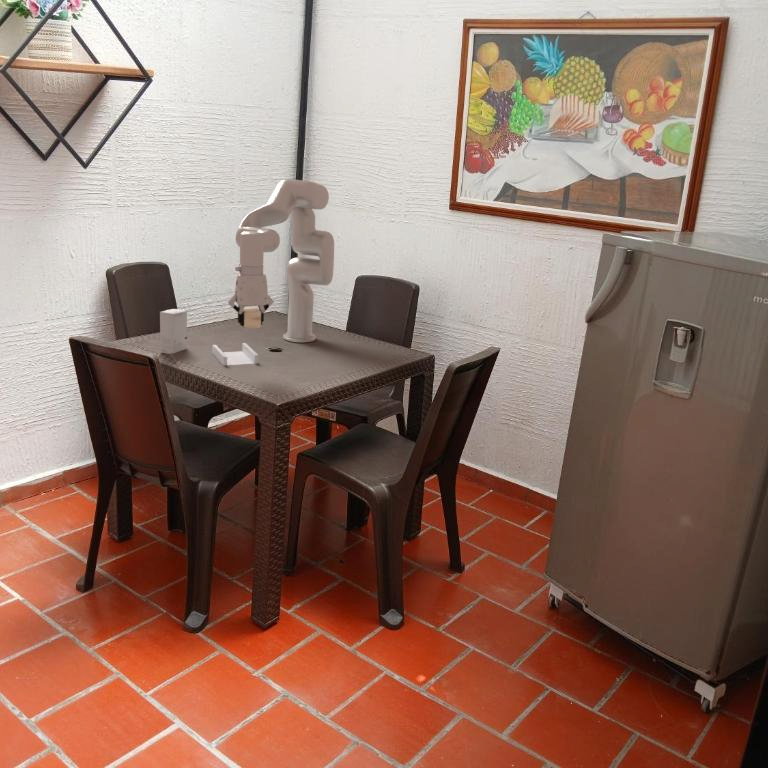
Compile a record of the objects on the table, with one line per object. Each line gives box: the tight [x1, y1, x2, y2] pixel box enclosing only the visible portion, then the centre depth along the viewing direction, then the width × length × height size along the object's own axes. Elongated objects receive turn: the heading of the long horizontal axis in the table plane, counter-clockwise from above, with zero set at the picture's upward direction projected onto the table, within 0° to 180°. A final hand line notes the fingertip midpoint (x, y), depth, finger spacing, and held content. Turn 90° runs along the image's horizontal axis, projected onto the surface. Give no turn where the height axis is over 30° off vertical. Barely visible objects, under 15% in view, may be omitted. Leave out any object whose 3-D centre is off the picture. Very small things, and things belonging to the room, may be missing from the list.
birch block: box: [241, 306, 262, 330], centre depth 266 cm, size 6×6×6 cm
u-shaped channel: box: [212, 342, 259, 366], centre depth 280 cm, size 15×12×4 cm
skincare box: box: [159, 308, 188, 356], centre depth 283 cm, size 8×6×15 cm
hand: (250, 323), depth 266 cm, fingers closed on birch block, 5 cm apart
